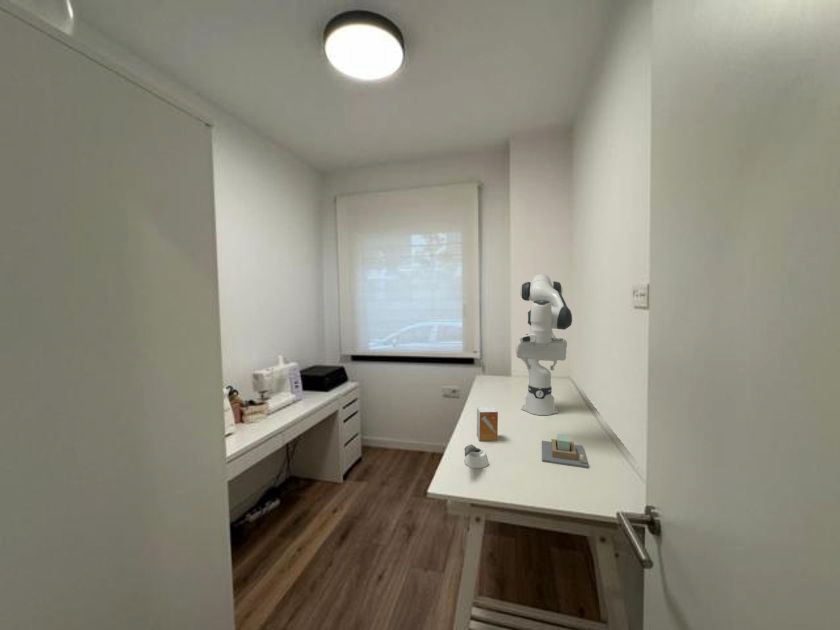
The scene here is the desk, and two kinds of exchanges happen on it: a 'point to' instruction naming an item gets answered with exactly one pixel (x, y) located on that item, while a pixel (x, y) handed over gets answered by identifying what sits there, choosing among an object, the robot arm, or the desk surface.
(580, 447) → the keyed plate
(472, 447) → the inkwell
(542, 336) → the robot arm
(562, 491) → the desk surface
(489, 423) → the small box
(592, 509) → the desk surface
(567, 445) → the sage block
